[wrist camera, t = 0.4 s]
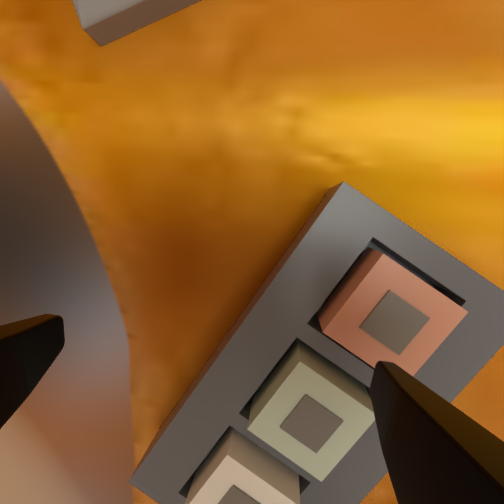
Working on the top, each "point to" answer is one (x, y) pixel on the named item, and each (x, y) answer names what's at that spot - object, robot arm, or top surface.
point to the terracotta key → (388, 313)
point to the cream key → (243, 475)
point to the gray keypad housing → (319, 348)
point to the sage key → (310, 410)
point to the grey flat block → (122, 15)
